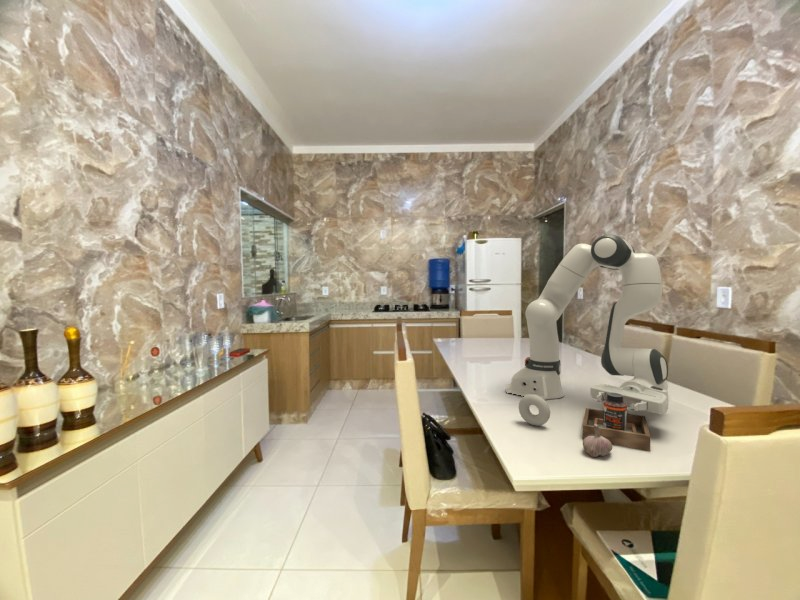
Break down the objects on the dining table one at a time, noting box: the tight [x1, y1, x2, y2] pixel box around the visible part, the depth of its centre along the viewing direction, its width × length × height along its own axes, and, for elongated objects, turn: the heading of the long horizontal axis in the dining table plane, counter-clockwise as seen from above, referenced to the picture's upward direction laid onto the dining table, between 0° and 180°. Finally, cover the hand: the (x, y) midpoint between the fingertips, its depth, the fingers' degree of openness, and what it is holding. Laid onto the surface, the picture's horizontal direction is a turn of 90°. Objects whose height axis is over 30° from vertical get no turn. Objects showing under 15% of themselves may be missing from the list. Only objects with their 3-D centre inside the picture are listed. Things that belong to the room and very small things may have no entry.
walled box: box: [582, 407, 651, 452], centre depth 103 cm, size 16×16×4 cm
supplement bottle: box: [602, 393, 628, 431], centre depth 103 cm, size 6×6×11 cm
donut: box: [518, 394, 551, 427], centre depth 111 cm, size 10×4×10 cm, turn 48°
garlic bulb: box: [582, 424, 613, 458], centre depth 92 cm, size 8×7×8 cm
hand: (615, 403), depth 103 cm, fingers open, 8 cm apart
